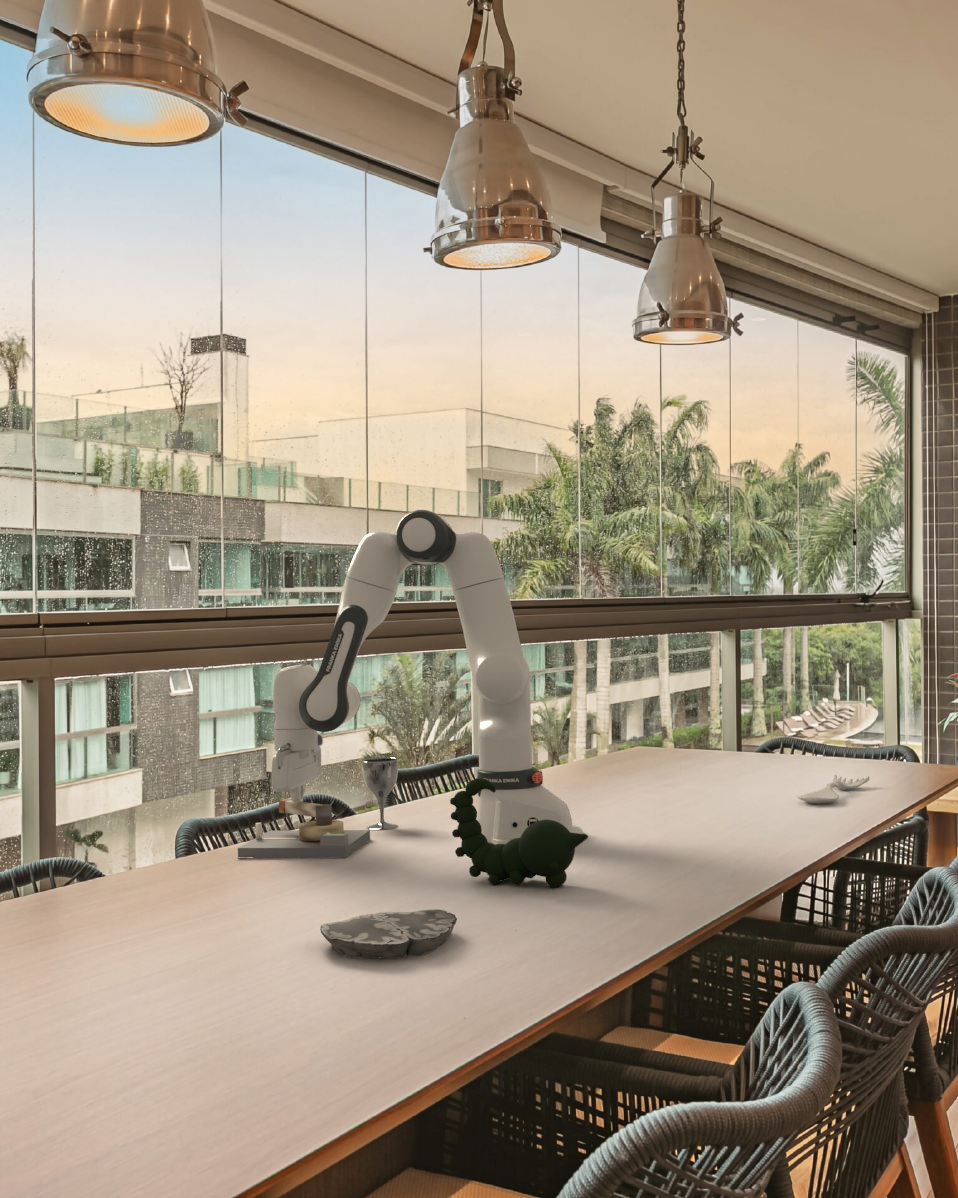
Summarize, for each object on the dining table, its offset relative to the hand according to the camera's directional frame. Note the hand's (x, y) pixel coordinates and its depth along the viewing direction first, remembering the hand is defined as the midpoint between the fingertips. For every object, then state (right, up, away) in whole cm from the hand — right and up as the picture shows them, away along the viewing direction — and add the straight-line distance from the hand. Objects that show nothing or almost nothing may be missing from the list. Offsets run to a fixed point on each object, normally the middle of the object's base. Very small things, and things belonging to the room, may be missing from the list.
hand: (297, 807), depth 238 cm
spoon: (+123, -4, +31) cm, 127 cm away
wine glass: (+17, -7, +13) cm, 22 cm away
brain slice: (+26, -5, -79) cm, 84 cm away
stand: (+3, -7, -8) cm, 11 cm away
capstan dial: (+3, -5, -6) cm, 8 cm away
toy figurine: (+45, -5, -45) cm, 64 cm away
